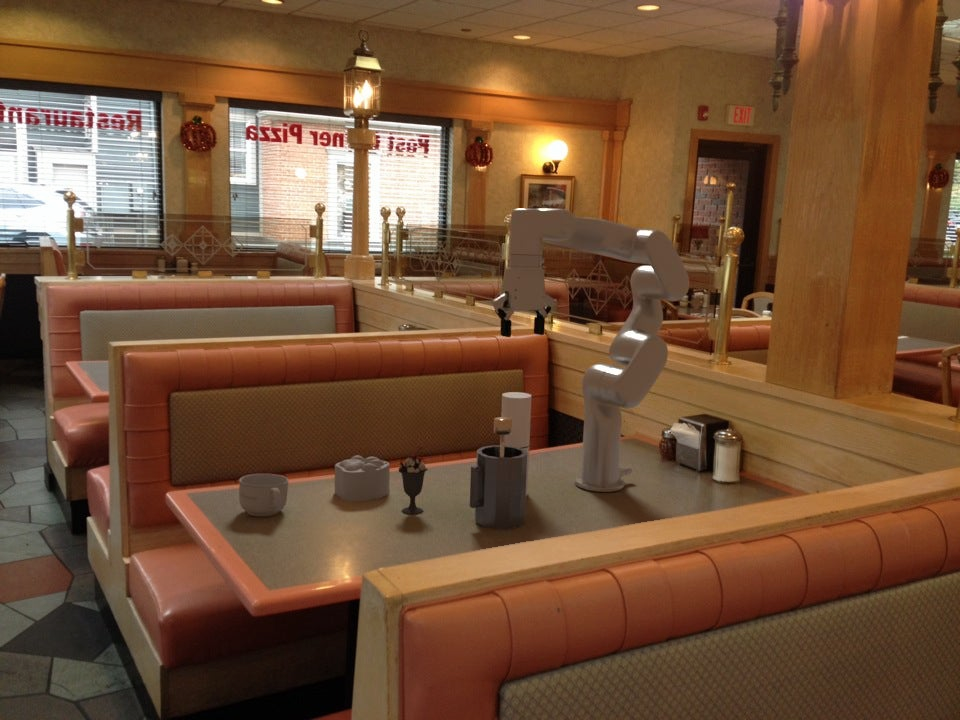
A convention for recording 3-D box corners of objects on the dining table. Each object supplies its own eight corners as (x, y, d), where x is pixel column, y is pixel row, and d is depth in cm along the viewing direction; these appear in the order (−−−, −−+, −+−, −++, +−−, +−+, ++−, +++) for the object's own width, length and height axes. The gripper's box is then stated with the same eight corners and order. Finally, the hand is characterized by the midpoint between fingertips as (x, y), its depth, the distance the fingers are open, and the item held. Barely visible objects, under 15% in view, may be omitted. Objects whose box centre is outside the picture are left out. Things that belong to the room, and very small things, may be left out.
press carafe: (505, 509, 204) (507, 443, 202) (533, 523, 195) (536, 454, 193) (457, 518, 197) (459, 450, 194) (484, 534, 188) (487, 462, 185)
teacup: (236, 507, 200) (235, 473, 199) (283, 502, 204) (283, 469, 203) (245, 527, 188) (244, 492, 186) (295, 522, 192) (295, 487, 191)
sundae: (431, 508, 203) (432, 446, 201) (420, 517, 197) (421, 453, 195) (405, 504, 205) (406, 443, 203) (393, 513, 199) (394, 450, 197)
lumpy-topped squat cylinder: (330, 491, 214) (330, 456, 213) (379, 484, 221) (379, 451, 219) (346, 503, 205) (347, 468, 204) (397, 496, 212) (397, 461, 210)
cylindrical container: (525, 499, 212) (529, 399, 208) (496, 496, 213) (499, 396, 209) (529, 490, 219) (533, 393, 215) (501, 488, 220) (504, 391, 216)
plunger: (503, 503, 202) (507, 414, 198) (523, 513, 196) (527, 421, 192) (476, 509, 197) (479, 417, 194) (495, 519, 191) (499, 424, 188)
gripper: (544, 261, 210) (541, 331, 213) (485, 261, 200) (483, 335, 203) (564, 263, 204) (561, 335, 207) (504, 263, 194) (501, 339, 197)
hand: (522, 335), depth 205 cm, fingers open, 9 cm apart
